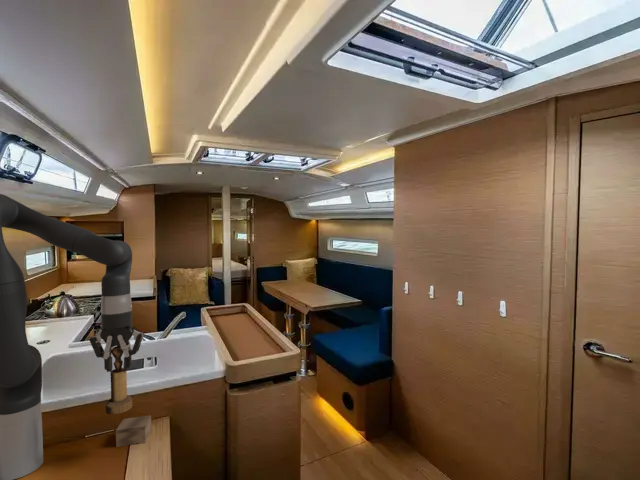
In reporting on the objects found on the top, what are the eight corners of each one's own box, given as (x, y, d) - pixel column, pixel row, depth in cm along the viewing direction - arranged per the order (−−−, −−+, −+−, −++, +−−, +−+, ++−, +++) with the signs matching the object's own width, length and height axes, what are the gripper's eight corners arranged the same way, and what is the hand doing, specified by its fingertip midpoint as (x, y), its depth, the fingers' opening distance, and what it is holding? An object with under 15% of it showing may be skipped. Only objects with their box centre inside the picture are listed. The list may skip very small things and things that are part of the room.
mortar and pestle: (137, 402, 99) (135, 342, 99) (125, 414, 93) (123, 349, 92) (114, 403, 99) (112, 343, 99) (100, 415, 92) (98, 350, 92)
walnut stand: (116, 447, 100) (115, 430, 100) (124, 434, 106) (123, 418, 106) (145, 442, 101) (144, 426, 101) (151, 430, 108) (150, 415, 108)
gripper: (82, 314, 90) (84, 378, 90) (139, 311, 93) (141, 372, 93) (94, 309, 98) (96, 367, 98) (147, 306, 101) (149, 362, 101)
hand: (118, 369), depth 96 cm, fingers closed on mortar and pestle, 4 cm apart
